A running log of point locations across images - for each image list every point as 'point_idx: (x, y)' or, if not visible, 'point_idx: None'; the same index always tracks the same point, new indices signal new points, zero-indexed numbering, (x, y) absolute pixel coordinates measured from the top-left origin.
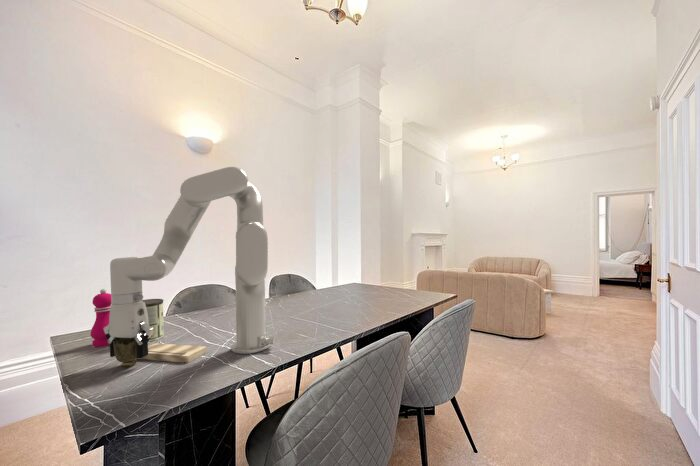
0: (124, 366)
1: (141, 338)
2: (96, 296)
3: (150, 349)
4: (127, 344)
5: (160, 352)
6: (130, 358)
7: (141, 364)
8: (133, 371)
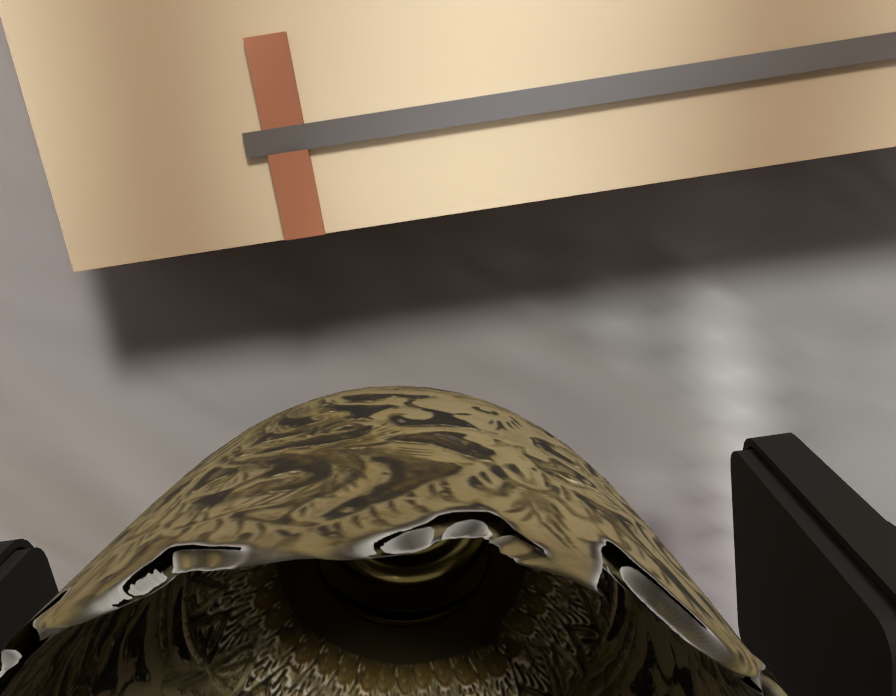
0: (443, 599)
1: (450, 524)
2: None
3: (287, 7)
4: (77, 624)
5: (761, 78)
6: (600, 679)
7: (574, 393)
8: (716, 607)
